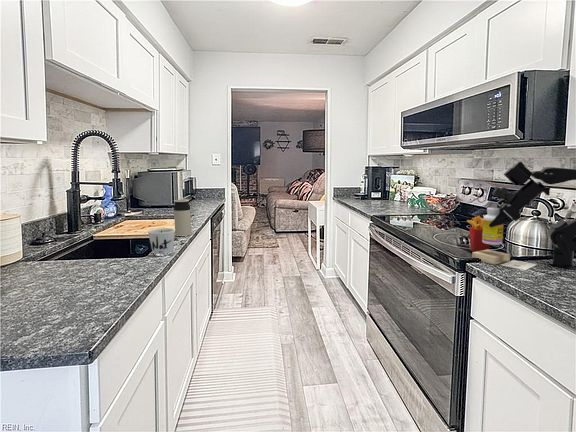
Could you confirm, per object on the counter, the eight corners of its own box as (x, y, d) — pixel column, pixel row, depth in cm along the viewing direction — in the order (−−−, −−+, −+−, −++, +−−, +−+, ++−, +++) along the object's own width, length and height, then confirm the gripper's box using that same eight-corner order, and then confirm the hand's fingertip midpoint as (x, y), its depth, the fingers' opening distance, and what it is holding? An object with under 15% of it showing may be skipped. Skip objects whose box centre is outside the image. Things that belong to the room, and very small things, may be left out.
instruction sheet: (513, 260, 148) (513, 259, 147) (537, 264, 141) (537, 264, 141) (500, 265, 141) (500, 264, 141) (525, 270, 135) (525, 269, 135)
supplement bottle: (498, 246, 143) (500, 210, 141) (479, 243, 148) (480, 208, 146) (505, 242, 148) (507, 208, 145) (486, 240, 152) (488, 206, 150)
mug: (147, 258, 159) (146, 233, 157) (152, 249, 173) (151, 227, 172) (175, 256, 161) (173, 232, 159) (177, 248, 175) (176, 225, 174)
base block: (487, 255, 155) (487, 249, 154) (509, 260, 147) (510, 254, 146) (471, 258, 150) (472, 252, 150) (494, 264, 143) (494, 257, 142)
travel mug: (185, 237, 198) (183, 201, 195) (172, 236, 201) (169, 200, 198) (194, 234, 206) (192, 199, 203) (181, 233, 208) (179, 199, 206)
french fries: (491, 254, 156) (494, 216, 154) (469, 254, 157) (471, 216, 154) (482, 249, 165) (484, 213, 162) (461, 249, 165) (463, 213, 163)
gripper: (505, 177, 151) (471, 205, 157) (511, 180, 134) (473, 212, 140) (527, 198, 149) (493, 226, 155) (537, 204, 132) (497, 235, 138)
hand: (489, 224), depth 147 cm, fingers closed on supplement bottle, 7 cm apart
